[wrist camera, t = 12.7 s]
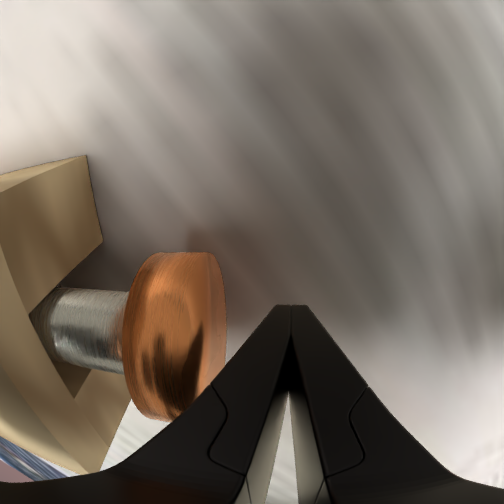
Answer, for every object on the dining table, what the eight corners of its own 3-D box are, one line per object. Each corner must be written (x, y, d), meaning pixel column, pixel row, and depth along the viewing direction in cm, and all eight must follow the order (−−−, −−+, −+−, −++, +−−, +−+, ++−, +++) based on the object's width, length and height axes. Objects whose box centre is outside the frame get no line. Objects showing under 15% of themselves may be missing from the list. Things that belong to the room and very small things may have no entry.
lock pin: (231, 345, 10) (205, 456, 6) (-29, 308, 12) (-73, 354, 8) (217, 224, 8) (161, 329, 5) (-57, 238, 10) (-111, 279, 6)
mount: (144, 370, 12) (95, 480, 7) (55, 353, 13) (0, 435, 8) (85, 155, 8) (-61, 227, 3) (-8, 177, 9) (-115, 237, 4)
